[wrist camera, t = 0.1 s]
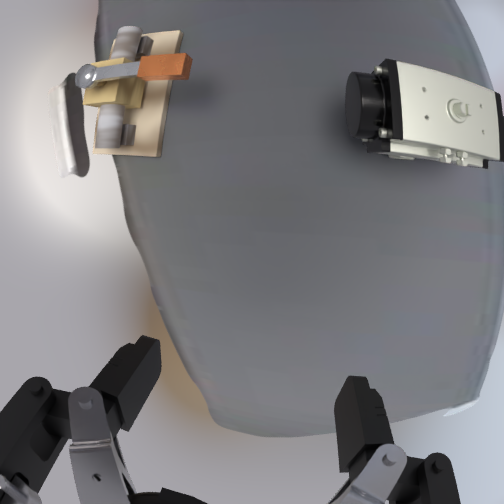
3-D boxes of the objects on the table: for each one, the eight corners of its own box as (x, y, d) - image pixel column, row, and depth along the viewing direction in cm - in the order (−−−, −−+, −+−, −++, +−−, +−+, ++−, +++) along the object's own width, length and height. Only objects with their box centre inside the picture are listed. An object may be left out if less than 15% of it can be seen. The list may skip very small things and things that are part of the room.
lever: (86, 68, 23) (77, 65, 21) (193, 56, 22) (186, 50, 20) (82, 90, 24) (71, 88, 22) (187, 82, 23) (180, 77, 21)
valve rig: (118, 42, 31) (80, 22, 21) (183, 33, 30) (153, 3, 20) (98, 153, 38) (52, 156, 28) (160, 156, 37) (120, 157, 27)
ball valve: (334, 156, 34) (374, 151, 17) (332, 95, 32) (366, 46, 15) (446, 167, 32) (527, 180, 15) (444, 113, 29) (522, 98, 13)
